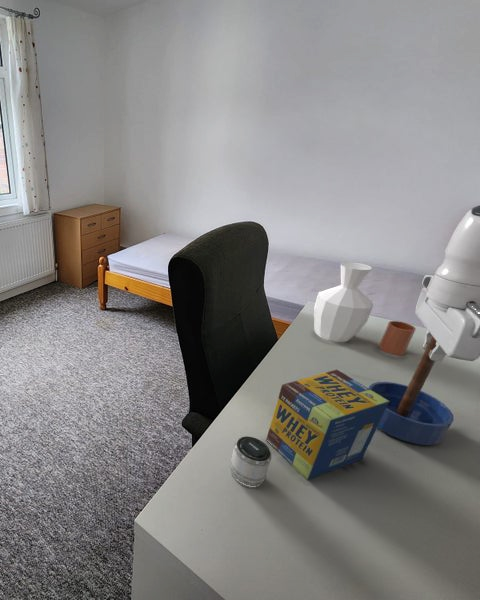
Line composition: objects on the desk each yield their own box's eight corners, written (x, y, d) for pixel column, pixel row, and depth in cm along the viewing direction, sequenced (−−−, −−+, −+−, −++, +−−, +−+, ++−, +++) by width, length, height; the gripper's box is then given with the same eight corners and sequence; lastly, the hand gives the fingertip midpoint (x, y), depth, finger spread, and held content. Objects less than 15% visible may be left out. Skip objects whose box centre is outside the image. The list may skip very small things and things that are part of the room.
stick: (404, 416, 76) (445, 332, 67) (406, 422, 75) (449, 337, 66) (392, 413, 77) (432, 330, 68) (395, 419, 76) (436, 334, 67)
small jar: (241, 456, 70) (248, 428, 67) (270, 479, 66) (279, 450, 62) (222, 471, 67) (228, 442, 64) (251, 496, 63) (259, 466, 59)
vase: (300, 336, 113) (321, 265, 102) (313, 322, 122) (334, 255, 111) (352, 354, 103) (381, 277, 93) (362, 337, 112) (390, 265, 101)
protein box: (264, 440, 74) (280, 383, 68) (317, 423, 78) (337, 368, 72) (307, 481, 65) (330, 420, 59) (364, 459, 69) (392, 400, 63)
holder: (400, 348, 105) (412, 323, 102) (406, 358, 101) (418, 332, 97) (376, 344, 108) (386, 319, 104) (380, 353, 103) (391, 328, 99)
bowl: (428, 412, 81) (439, 392, 78) (452, 456, 69) (466, 435, 67) (355, 394, 87) (362, 375, 84) (366, 432, 76) (375, 411, 73)
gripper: (516, 319, 54) (476, 389, 59) (461, 277, 70) (434, 335, 76) (462, 312, 56) (428, 379, 62) (421, 273, 73) (397, 329, 78)
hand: (431, 355), depth 69 cm, fingers closed on stick, 2 cm apart
